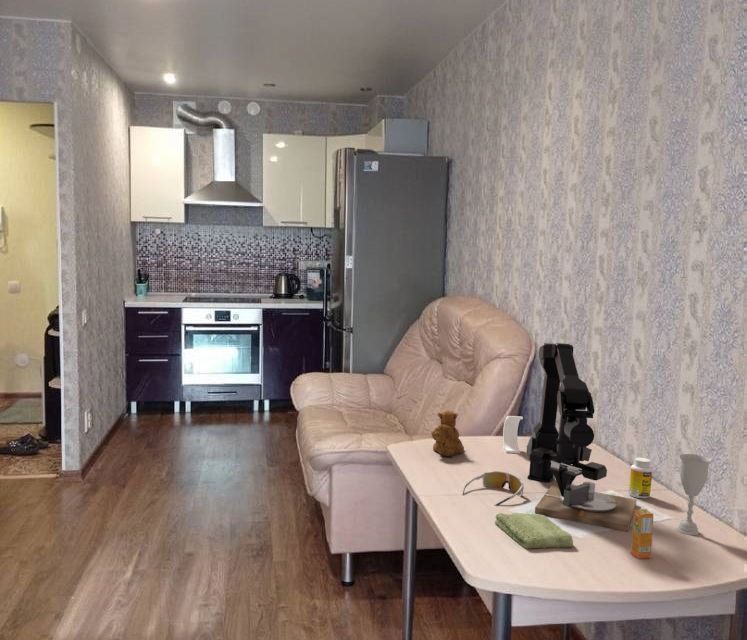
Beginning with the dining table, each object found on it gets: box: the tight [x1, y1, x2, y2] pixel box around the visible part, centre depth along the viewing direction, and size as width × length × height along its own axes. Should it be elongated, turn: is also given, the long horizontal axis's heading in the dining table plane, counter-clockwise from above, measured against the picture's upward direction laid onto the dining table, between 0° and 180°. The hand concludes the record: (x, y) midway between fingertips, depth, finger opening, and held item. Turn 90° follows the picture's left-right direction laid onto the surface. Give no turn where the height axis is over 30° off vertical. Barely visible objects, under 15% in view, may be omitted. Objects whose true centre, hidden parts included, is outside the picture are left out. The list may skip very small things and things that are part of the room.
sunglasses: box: [461, 470, 525, 506], centre depth 199 cm, size 14×15×5 cm
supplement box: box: [630, 508, 654, 560], centre depth 162 cm, size 3×3×10 cm
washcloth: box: [494, 512, 574, 550], centre depth 172 cm, size 13×18×3 cm
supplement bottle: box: [628, 457, 654, 500], centre depth 205 cm, size 6×6×10 cm
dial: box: [559, 481, 616, 512], centre depth 190 cm, size 17×14×5 cm
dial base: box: [534, 483, 637, 532], centre depth 192 cm, size 22×22×2 cm
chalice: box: [676, 453, 712, 536], centre depth 179 cm, size 7×7×18 cm
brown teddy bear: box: [430, 410, 465, 457], centre depth 237 cm, size 10×14×13 cm
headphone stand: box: [502, 415, 524, 454], centre depth 245 cm, size 5×6×12 cm
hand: (563, 496), depth 188 cm, fingers closed
